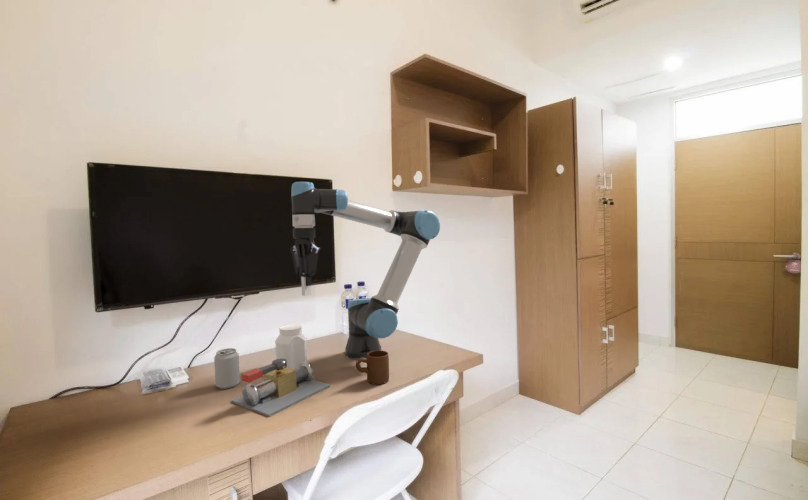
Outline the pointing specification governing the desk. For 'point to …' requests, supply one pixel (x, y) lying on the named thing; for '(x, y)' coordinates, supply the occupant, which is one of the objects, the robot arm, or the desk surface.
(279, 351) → the jar
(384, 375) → the mug
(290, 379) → the valve
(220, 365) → the can
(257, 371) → the lever
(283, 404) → the mat
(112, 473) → the desk surface
